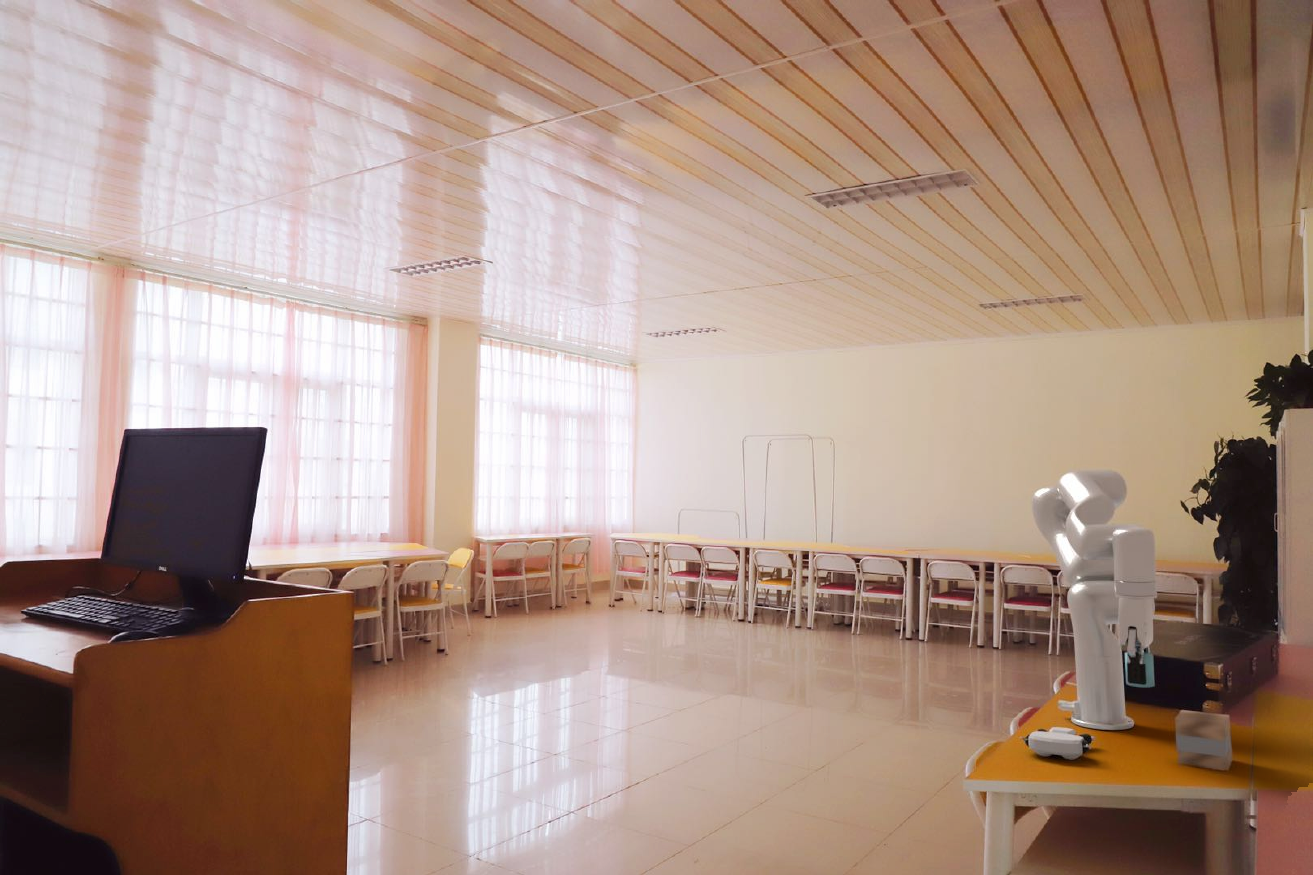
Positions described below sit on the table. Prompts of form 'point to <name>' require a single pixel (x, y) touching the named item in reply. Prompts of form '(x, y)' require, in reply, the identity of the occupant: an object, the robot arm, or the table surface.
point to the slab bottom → (1205, 760)
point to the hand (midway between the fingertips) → (1139, 679)
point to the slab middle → (1203, 745)
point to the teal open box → (1149, 671)
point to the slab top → (1203, 725)
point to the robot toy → (1059, 742)
